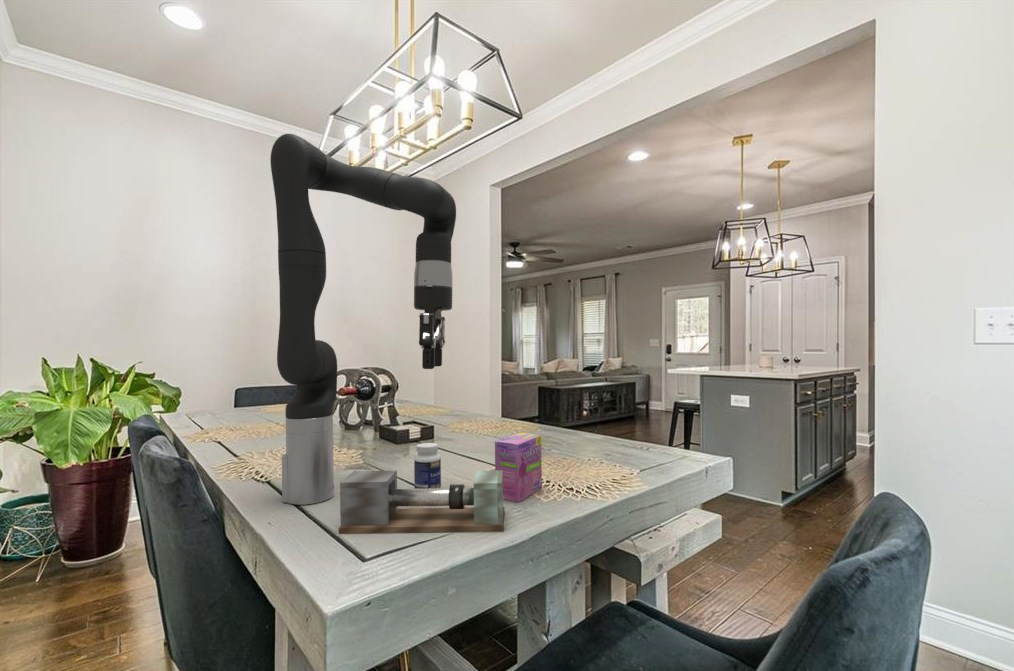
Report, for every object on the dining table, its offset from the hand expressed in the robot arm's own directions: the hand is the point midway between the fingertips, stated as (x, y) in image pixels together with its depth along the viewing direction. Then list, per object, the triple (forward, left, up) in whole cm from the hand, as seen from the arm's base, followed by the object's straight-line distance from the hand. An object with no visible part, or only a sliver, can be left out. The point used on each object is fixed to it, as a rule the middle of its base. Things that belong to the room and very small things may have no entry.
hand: (432, 367), depth 93 cm
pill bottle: (-3, +10, -28) cm, 29 cm away
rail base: (0, -9, -27) cm, 29 cm away
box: (+17, +7, -28) cm, 33 cm away
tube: (+2, -9, -25) cm, 26 cm away
